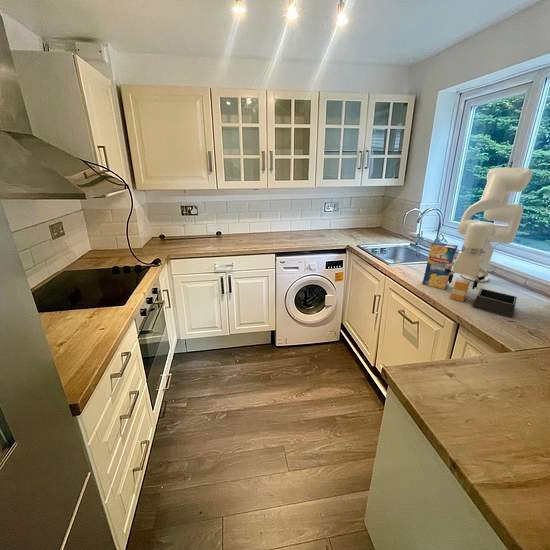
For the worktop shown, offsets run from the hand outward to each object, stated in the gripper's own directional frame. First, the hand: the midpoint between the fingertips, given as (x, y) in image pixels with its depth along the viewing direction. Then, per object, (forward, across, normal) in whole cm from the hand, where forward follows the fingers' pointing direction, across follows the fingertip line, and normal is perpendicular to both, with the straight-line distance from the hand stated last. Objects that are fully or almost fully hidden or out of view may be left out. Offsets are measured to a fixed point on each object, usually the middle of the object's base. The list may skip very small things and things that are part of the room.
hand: (461, 285), depth 135 cm
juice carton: (+7, 0, 0) cm, 7 cm away
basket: (+7, -14, 0) cm, 16 cm away
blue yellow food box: (+7, +13, -12) cm, 19 cm away
